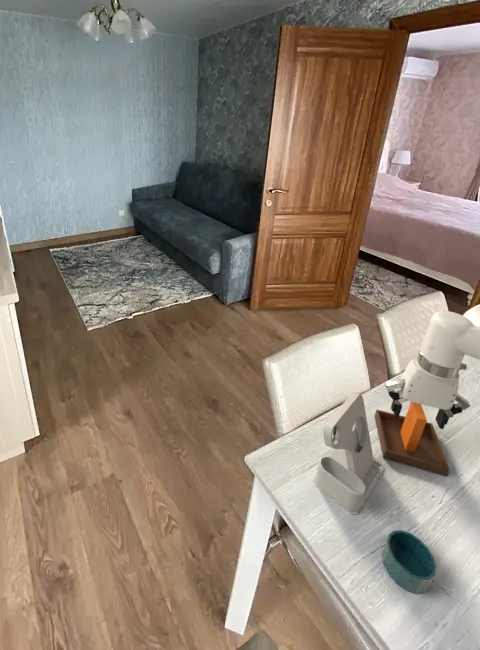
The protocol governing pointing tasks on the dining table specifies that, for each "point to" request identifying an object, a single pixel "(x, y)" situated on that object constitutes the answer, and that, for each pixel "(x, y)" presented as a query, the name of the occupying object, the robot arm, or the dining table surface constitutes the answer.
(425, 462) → the tray
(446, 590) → the dining table surface
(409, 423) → the block
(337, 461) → the phone holder
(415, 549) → the cup
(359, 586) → the dining table surface
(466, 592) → the dining table surface
